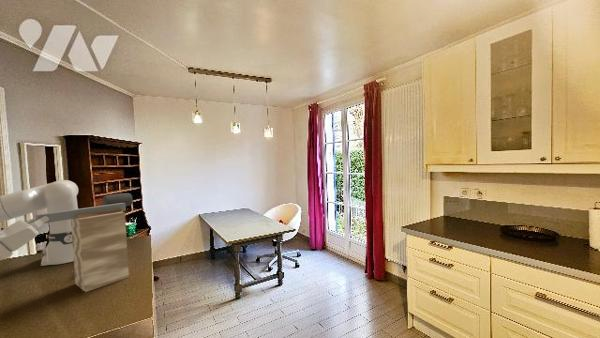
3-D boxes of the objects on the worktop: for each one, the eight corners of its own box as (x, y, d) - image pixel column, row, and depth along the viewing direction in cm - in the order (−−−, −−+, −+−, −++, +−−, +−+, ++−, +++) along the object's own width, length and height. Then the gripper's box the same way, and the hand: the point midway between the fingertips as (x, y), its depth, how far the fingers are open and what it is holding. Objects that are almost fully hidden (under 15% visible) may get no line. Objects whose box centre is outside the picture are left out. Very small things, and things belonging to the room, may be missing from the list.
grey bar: (36, 223, 90) (35, 214, 90) (123, 210, 111) (122, 202, 111) (38, 224, 88) (37, 215, 88) (125, 210, 109) (125, 203, 109)
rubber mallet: (109, 253, 136) (105, 195, 135) (104, 251, 141) (101, 195, 140) (136, 246, 146) (132, 192, 145) (131, 244, 151) (127, 192, 150)
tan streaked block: (75, 283, 101) (70, 213, 101) (117, 270, 113) (113, 207, 112) (85, 292, 94) (79, 216, 93) (129, 277, 105) (124, 209, 105)
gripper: (-2, 248, 89) (46, 220, 98) (7, 259, 77) (60, 226, 86) (-18, 234, 86) (32, 207, 96) (-12, 244, 74) (45, 211, 83)
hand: (45, 216), depth 91 cm, fingers open, 3 cm apart
